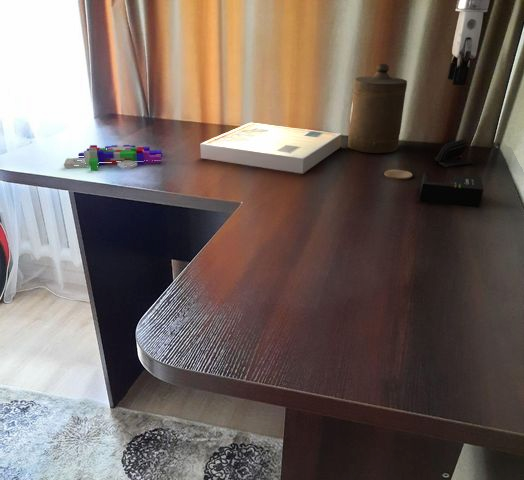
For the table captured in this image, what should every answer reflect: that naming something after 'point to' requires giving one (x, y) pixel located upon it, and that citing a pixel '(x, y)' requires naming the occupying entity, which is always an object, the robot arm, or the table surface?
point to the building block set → (114, 157)
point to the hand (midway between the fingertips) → (456, 82)
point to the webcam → (453, 154)
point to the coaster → (398, 174)
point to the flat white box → (272, 147)
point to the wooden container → (377, 112)
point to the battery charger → (453, 191)
